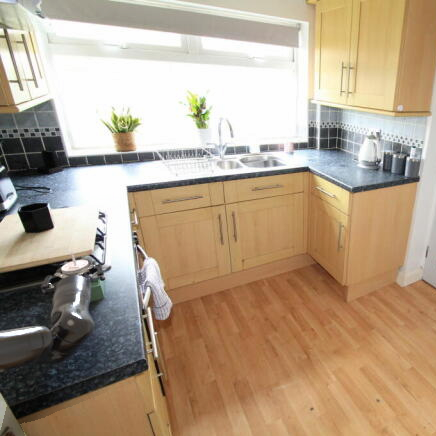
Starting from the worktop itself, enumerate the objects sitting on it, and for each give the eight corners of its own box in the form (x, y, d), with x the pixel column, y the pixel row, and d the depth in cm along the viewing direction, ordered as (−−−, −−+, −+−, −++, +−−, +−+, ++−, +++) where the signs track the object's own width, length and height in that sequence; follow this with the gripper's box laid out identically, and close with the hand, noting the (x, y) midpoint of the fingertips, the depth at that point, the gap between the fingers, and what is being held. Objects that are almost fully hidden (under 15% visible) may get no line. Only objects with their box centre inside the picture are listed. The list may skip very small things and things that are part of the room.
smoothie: (77, 302, 92) (62, 260, 86) (66, 294, 94) (51, 253, 89) (101, 290, 97) (88, 250, 91) (90, 284, 100) (77, 244, 94)
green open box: (61, 309, 89) (56, 296, 88) (64, 290, 97) (59, 278, 95) (104, 297, 95) (100, 285, 93) (104, 280, 102) (100, 268, 100)
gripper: (102, 275, 84) (102, 249, 96) (30, 293, 76) (41, 261, 89) (109, 299, 87) (108, 270, 99) (41, 317, 79) (50, 284, 92)
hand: (76, 266), depth 94 cm, fingers closed on smoothie, 6 cm apart
